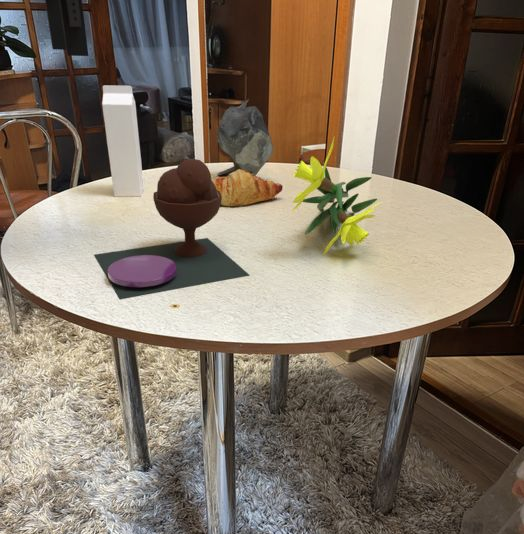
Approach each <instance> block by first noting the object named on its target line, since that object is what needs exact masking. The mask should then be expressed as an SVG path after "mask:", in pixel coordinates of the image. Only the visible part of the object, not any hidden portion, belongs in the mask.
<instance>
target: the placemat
mask: <svg viewBox="0 0 524 534" xmlns="http://www.w3.org/2000/svg"><path fill="white" fill-rule="evenodd" d="M184 241H185V240H183V241H176V242H170V243H164V244H163V243H162V244H157V245H150V246H149V245H148V246H144V247H137V248H130V249H129V248H128V249H122V250H116V251H109V252H102V253H96V254H93V256H94V258H95V260H96V262H97V263H98V265H99V267H100V269H101V270H102V272H103V274H104V276H105V277H106V279H107V280H108V282H109V284H110V286H111V287H112V289H113V291H114V293H115V294H116V296H117V298H118V300H126V299H131V298H136V297H142V296H147V295H153V294H159V293H163V292H164V293H165V292H168V291H174V290H180V289H186V288H192V287H195V286H202V285H207V284H212V283H217V282H223V281H228V280H235V279H240V278H245V277H250V276H251V275H250V274H249V273H248V272H247V271H246V270H245V269H243V268H242V267H241V266H240V265H239V264H238V263H237V262H236V261H235V260H233V259H232V258H231V257H230V256H229V255H228V254H226V252H224V251H223V250H222V249H221V248H220V247H218V246H217V245H216V244H215V243H214V242H213V241H212V240H210V239H209V238H208V237H203V238H198V239H196V238H195V241H197V242H199V243H201V244H203V245H205V247H206V251H207V253H205V254H203V255H202V256H197V257H181V256H179V255H176V254H175V247H176V246H178V245H179V244H181V243H183V242H184ZM140 255H153V256H161V257H165V258H168V259H170V260H172V261H173V262H174V263H175V264H176V270H177V272H176V275H175V276H174V277H173V278H172V279H171V280H169V281H167V282H165V283H162V284H159V285H155V286H149V287H126V286H121V285H118V284H116V283H114V282H112V281H111V280H110V279H109V277H108V268H109V266H110V265H111V264H113V263H114V262H116V261H118V260H121V259H124V258H127V257H132V256H140Z"/></svg>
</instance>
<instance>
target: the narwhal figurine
mask: <svg viewBox="0 0 524 534" xmlns="http://www.w3.org/2000/svg"><path fill="white" fill-rule="evenodd" d="M249 100H250V98H248V99H246V100H245V101H244V102H242V103H241V104H240V105H239V106H234V105H233V106H232V105H231V106H229V108H226V109H225V111H224V113H223V115H222V118H221V120H220V123H219V125H218V127H217V129H216V131H217V142H218V144H219V147H220V149H221V150H222V151H223V152H224V153H226V154H227V155H228V156H230V158H231V160H232V164H233V166H231V167H228V168H226V169H224V170H222V171H219V172H217V175H216V176H217V177H227V176H228V175H229V174H230V173H232V172H235V171H236V170H238V169H240V170H245V171H248V172H250V173H251V174H252V175H253V176H257V175H258V173H259V172H260V170H262V168H263V167H264V166H265V164H266V163H267V162H268V161H269V160H270V158H271V156H272V155H273V153H274V150H275V149H274V146H273V142H272V137H271V136H270V133H269V130H268V127H267V125H266V124H265V121H264V116H263V114H262V112H261V111H260V110H259V107H257V106H256V105H255V106H254V105H253V106H247V105H248V103H249Z"/></svg>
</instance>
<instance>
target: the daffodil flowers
mask: <svg viewBox="0 0 524 534" xmlns="http://www.w3.org/2000/svg"><path fill="white" fill-rule="evenodd" d="M335 138H336V137H335V135H334V137H333V138H332V141H331V144H330V147H329V151H328V153H327V155H326V157H325V161H324V163H323V166H322V164H321V163H320V161H319V160H318V159H317V158H316V157H315V156H313V155H311V156H310V159H309V160H310V163H309V164H310V166H309V165H307V164H306V163H305V162H304V161H303V160H302V159H301V160H300V162H299V163H298V165H297V168H295V171H294V173H293V176H292V177H294V178H297V179H301V180H303V181H306V182H309V183H310V184H309V185H308V187H306V188H305V189H304V190H303V191H301V192H299V193H298V194H297V195H296V197H295V198H294V199H293V200H292V201H291V204H293V203H296V205H295V206H294V207H293V208H292V210H291V211H290V212H289V214H291V213H292V212H293V211H295V210H296V209H298V208H299V207H300V205H301V204H302V203H305V204H306V203H307V204H316V208H317V211H319V212H321V213H320V214H318V215H317V216H315V217H314V219H313V220H312V221H311V223H310V224H309V225H308V227H307V228H306V231H305V233H304V235H305V236H306V235H308V234H309V233H311V232H312V231H313V230H315V229H317V227H318V226H320V225H321V224H323V222H325V221H326V220H327V219H328V218H329V217H330V225H331V228H332V230H333V234H334V235H335V236H334V237H333V238H332V239H331V240H330V242H329V243H328V244H327V246H325V249H324V252H323V255H322V257H324V256H325V255H326V253H327V252H328V251H329V250H330V248H331V247H332V246H333V245H334V243H335V242H336V241H337V240H338V239H339V237H340V241H341V243H342V245H344V244H345V243H347V244H348V245H349V246H351V247H352V246H354V244H355V243H356V246H359V245H360V244H362V242H364V240H367V238H369V236H370V233H369V232H368V231H367V230H365V229H363V228H362V227H361V226H360V225H358V224H357V223H359V222H362V221H364V220H366V219H372V218H374V217H377V215H376V214H370V213H371V212H373V211H375V210H376V209H374V208H375V207H376V206H378V205H380V204H381V202H377V201H378V198H372V199H367V200H364V201H361V202H357V203H355V204H353V203H354V202H355V201H356V199H357V198H358V197H359V195H360V194H359V193H356V194H354V195H352V196H350V197H349V192H350V191H352V190H354V189H355V188H358V187H360V186H362V185H363V184H365V183H367V182H368V181H369V182H370V181H371V179H372V178H373V177H372V176H364V177H358V178H354V179H351V180H350V181H348V182H347V183H346V182H345V181H341V182H338V183H334V182H332V179H331V176H330V172H329V170H328V168H327V163H328V161H329V158H330V156H331V154H332V151H333V149H334V144H335ZM344 185H345V190H344V187H343V186H344ZM315 190H317V191H318V192H320V193H321V194H323V195H320V196H319V195H318V196H316V195H315V196H311V197H308V195H309V194H311V193H312V192H314V191H315ZM343 198H344V199H345V198H347V199H346V200H345V201H343ZM335 200H336V201H335ZM376 202H377V203H376ZM374 203H375V204H374ZM328 204H331V205H330V206H329V207H328V208H327V209H324V208H325V207H326V206H327V205H328ZM371 205H372V206H371ZM370 206H371V207H370ZM368 207H369V208H368ZM349 208H351V212H352V213H353V214H355V215H352V216H349V215H348V214H347V212H348V209H349ZM367 208H368V209H367ZM365 209H366V210H365ZM361 211H363V212H361ZM359 212H361V213H359ZM358 213H359V214H358ZM340 224H341V226H340ZM339 226H340V228H339V229H338V227H339ZM337 229H338V230H337ZM354 242H355V243H354Z"/></svg>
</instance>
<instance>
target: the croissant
mask: <svg viewBox="0 0 524 534" xmlns="http://www.w3.org/2000/svg"><path fill="white" fill-rule="evenodd" d="M212 181H213V183H214V185H215V187H216V189H217V190H218V191H220V193H221V196H222V200H221V206H223V207H224V206H225V207H235V206H237V207H238V206H240V207H242V206H248V205H252V204H256V203H259V202H264V201H267V200H271V199H273V198H275V197H276V196H277V195H279V194H280V193H281V192H282V191H283V185H282V184H281V183H279V182H278V183H277V182H274V181H272V180H268V179H262V177H260V176H258V175H256V176H253V175H252V174H251V173H250V172H248V171H245V170H240V169H238V170H236V171H235V172H232V173H230V174H229V175H228V176H219V177H216V178H214V179H213V180H212Z"/></svg>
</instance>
